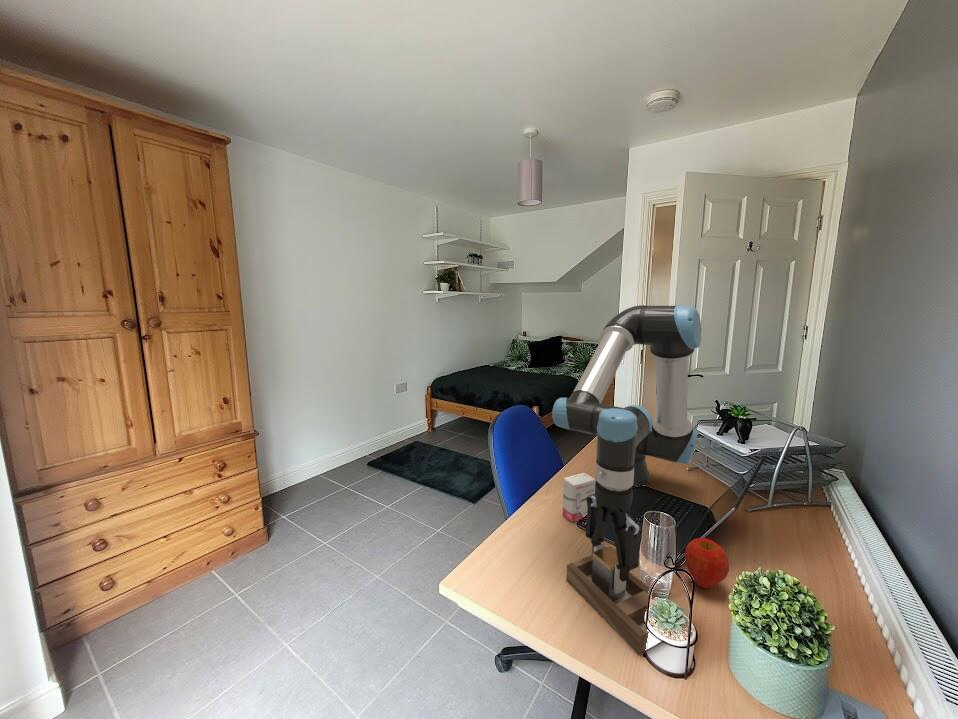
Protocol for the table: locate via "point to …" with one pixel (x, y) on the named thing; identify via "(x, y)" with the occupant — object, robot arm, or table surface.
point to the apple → (706, 562)
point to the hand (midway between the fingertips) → (608, 580)
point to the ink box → (577, 495)
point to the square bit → (605, 571)
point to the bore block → (614, 603)
